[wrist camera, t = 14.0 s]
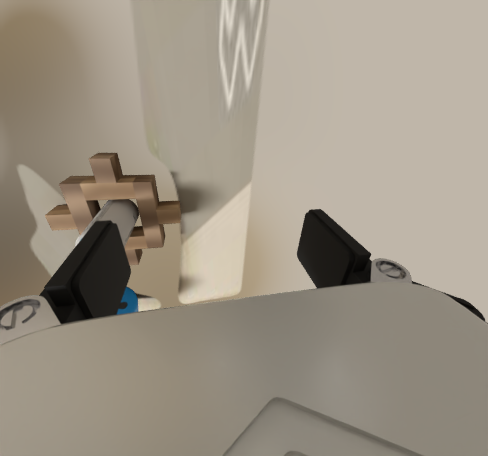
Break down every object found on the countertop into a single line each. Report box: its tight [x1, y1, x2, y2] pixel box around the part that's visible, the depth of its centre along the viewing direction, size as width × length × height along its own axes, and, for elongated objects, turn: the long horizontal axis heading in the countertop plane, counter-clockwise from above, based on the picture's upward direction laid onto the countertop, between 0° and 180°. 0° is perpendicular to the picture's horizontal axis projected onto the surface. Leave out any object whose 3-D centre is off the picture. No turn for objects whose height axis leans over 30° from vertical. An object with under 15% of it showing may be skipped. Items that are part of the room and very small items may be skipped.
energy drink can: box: [75, 199, 139, 248], centre depth 37 cm, size 6×6×15 cm
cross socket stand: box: [45, 153, 181, 265], centre depth 41 cm, size 22×22×4 cm
